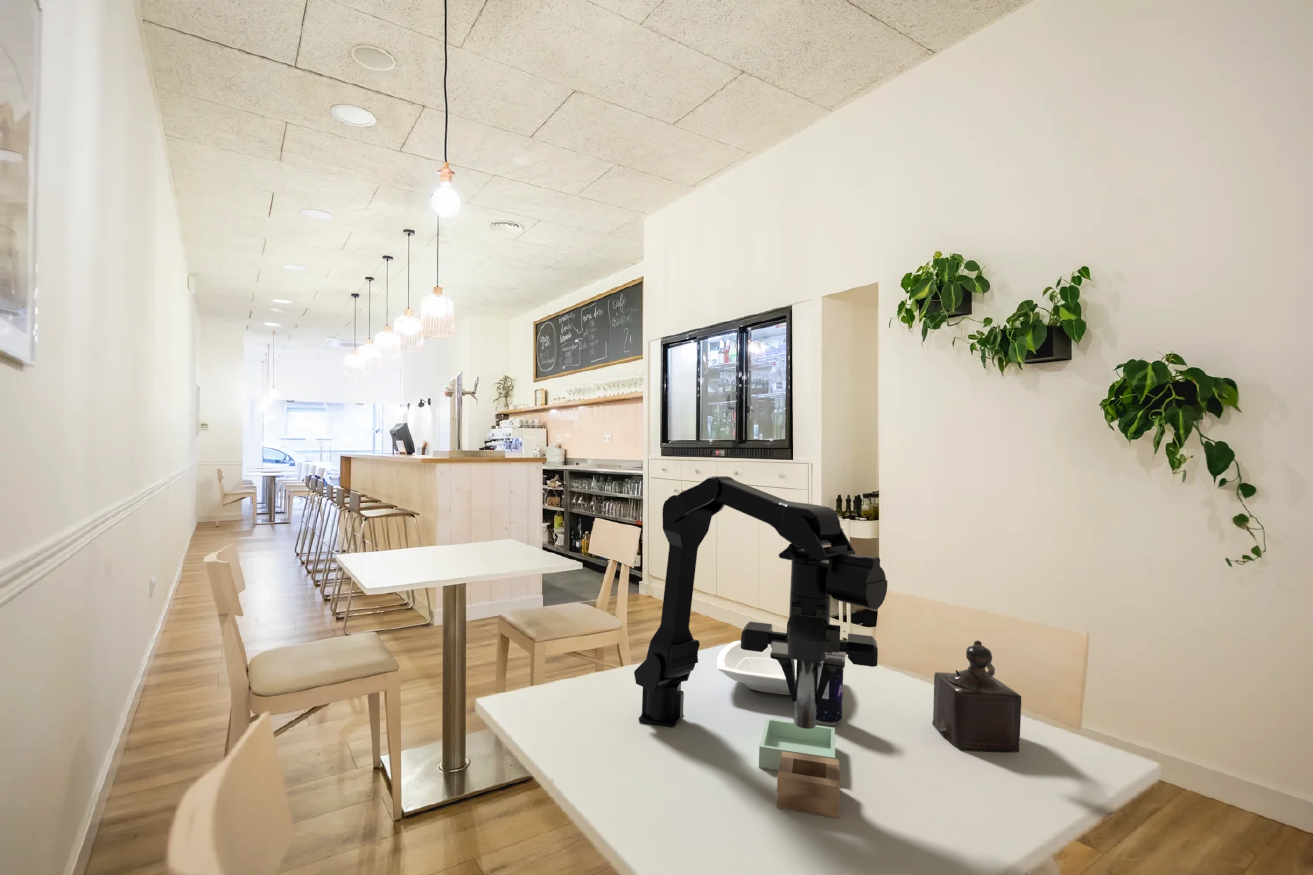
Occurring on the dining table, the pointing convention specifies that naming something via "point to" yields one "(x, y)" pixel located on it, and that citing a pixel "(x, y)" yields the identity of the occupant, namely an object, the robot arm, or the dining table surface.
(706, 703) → the dining table surface
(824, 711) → the beverage can
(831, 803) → the brown square sleeve
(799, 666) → the cylinder
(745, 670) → the bowl
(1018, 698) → the dark brown ornamental box
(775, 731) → the tray
